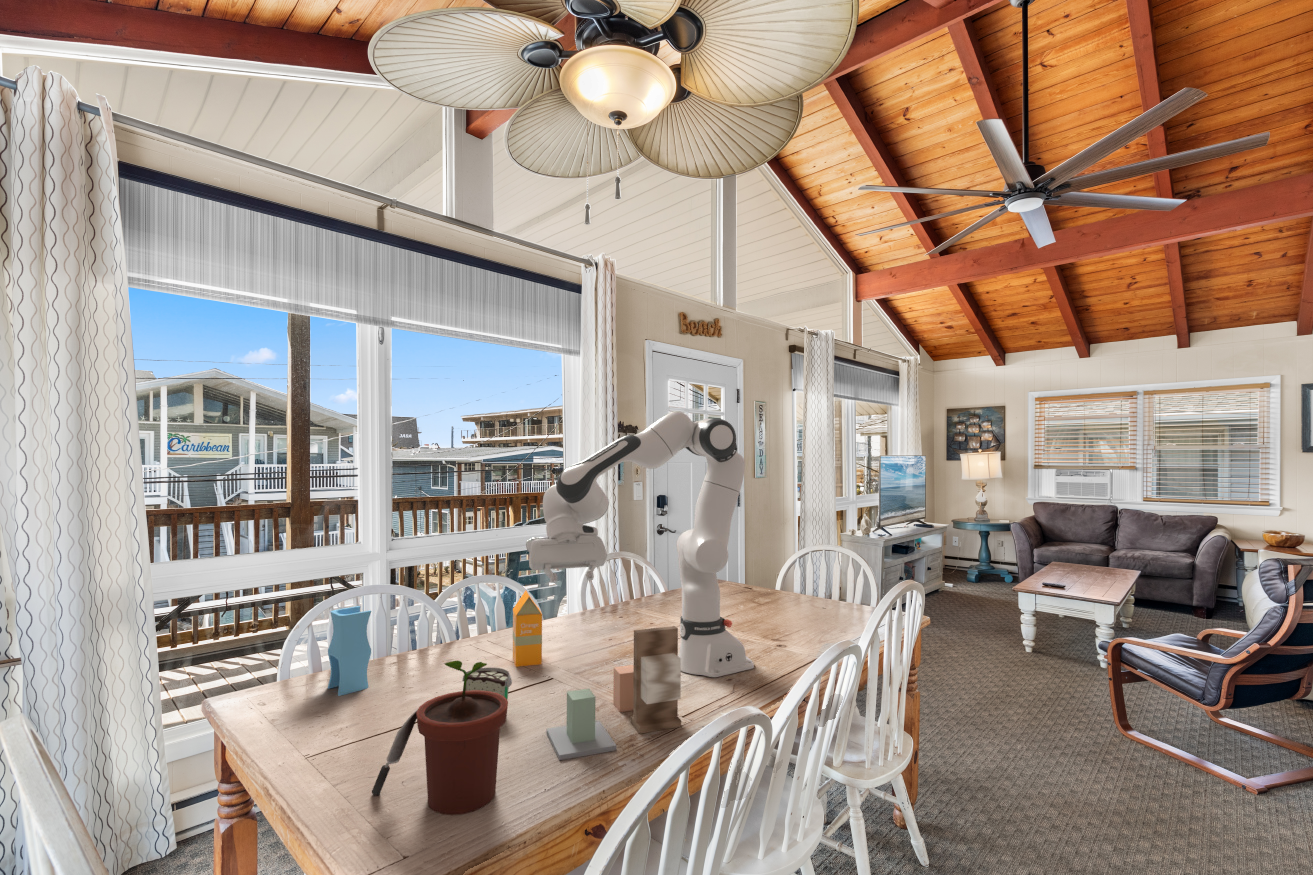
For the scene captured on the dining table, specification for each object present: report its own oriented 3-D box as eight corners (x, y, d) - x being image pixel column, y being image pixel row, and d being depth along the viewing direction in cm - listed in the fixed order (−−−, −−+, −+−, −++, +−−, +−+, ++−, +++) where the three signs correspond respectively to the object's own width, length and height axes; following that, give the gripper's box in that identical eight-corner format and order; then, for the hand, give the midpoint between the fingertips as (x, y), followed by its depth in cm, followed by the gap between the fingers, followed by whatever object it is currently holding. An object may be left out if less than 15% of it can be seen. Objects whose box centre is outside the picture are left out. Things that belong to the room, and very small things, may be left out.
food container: (521, 712, 148) (522, 669, 148) (507, 723, 142) (507, 678, 142) (477, 705, 152) (478, 664, 152) (461, 715, 146) (462, 672, 147)
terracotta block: (632, 701, 155) (632, 664, 155) (639, 708, 150) (639, 671, 151) (613, 704, 153) (613, 667, 154) (619, 711, 149) (619, 673, 149)
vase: (370, 687, 163) (371, 610, 164) (338, 695, 158) (340, 616, 158) (358, 679, 169) (359, 605, 169) (327, 687, 163) (328, 610, 163)
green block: (589, 729, 137) (589, 688, 137) (595, 739, 132) (595, 696, 132) (566, 733, 135) (566, 691, 135) (572, 743, 130) (572, 699, 130)
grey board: (599, 724, 142) (599, 720, 142) (616, 750, 130) (616, 745, 130) (546, 732, 137) (546, 728, 137) (559, 760, 125) (559, 755, 125)
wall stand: (670, 715, 146) (671, 623, 147) (684, 730, 139) (684, 632, 139) (630, 722, 143) (630, 627, 143) (642, 737, 135) (642, 637, 136)
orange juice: (538, 654, 190) (538, 588, 191) (542, 664, 182) (542, 595, 182) (511, 657, 188) (512, 590, 188) (514, 666, 179) (515, 597, 180)
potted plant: (442, 838, 100) (444, 681, 100) (369, 794, 112) (372, 654, 113) (526, 790, 114) (528, 652, 115) (453, 756, 127) (455, 632, 127)
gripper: (526, 530, 162) (533, 575, 152) (602, 527, 169) (613, 570, 160) (523, 545, 166) (529, 590, 156) (598, 541, 173) (608, 584, 164)
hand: (572, 580), depth 158 cm, fingers open, 8 cm apart
